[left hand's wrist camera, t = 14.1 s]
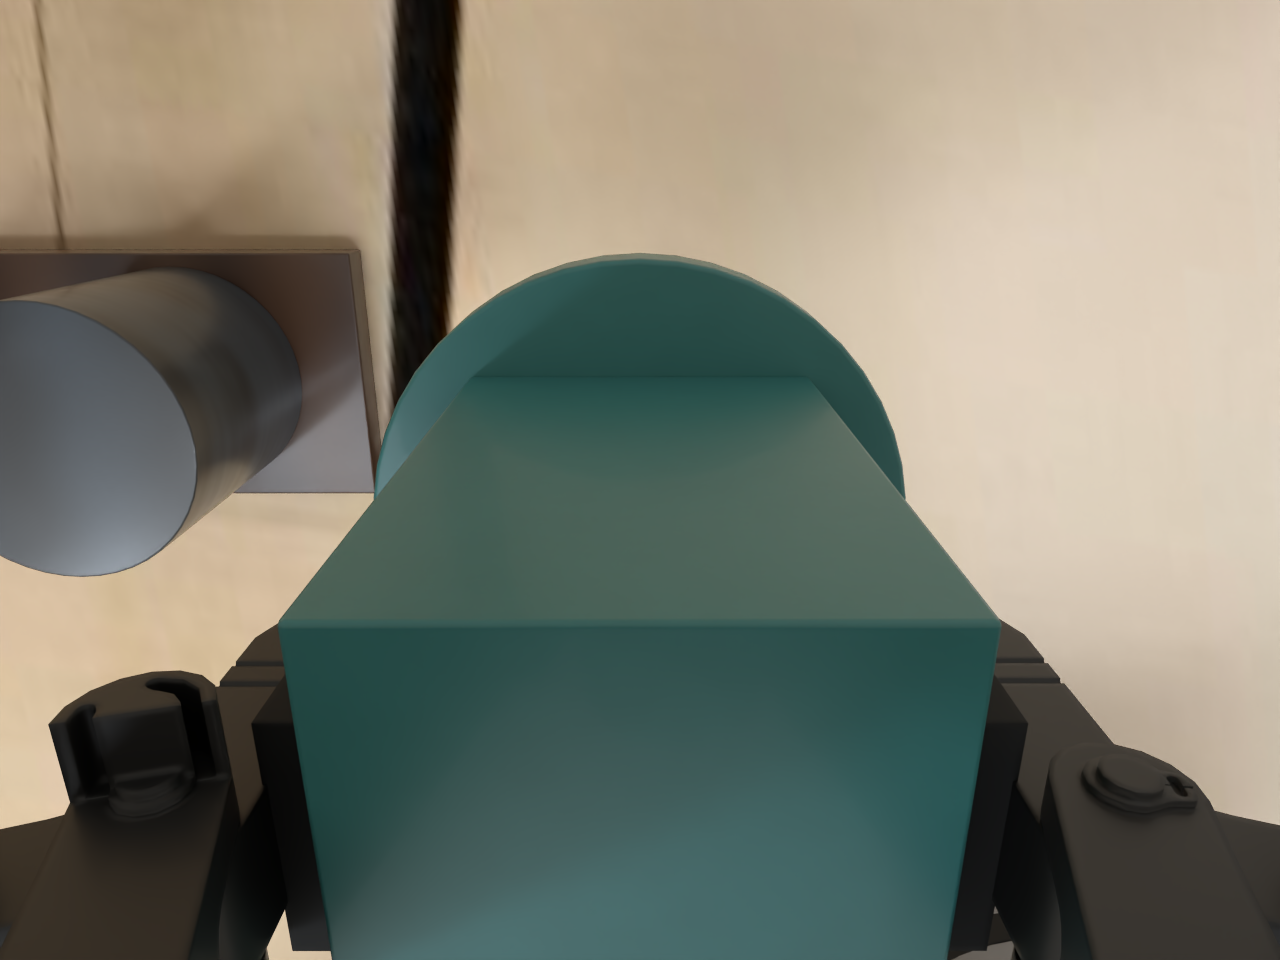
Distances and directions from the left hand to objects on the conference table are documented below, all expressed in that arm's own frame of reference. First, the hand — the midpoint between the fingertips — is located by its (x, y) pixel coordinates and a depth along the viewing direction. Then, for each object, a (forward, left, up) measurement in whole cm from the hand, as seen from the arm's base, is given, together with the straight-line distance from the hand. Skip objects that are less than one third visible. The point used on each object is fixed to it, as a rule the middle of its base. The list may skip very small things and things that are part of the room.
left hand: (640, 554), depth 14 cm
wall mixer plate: (+18, +20, -23) cm, 35 cm away
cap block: (0, 0, -2) cm, 2 cm away
